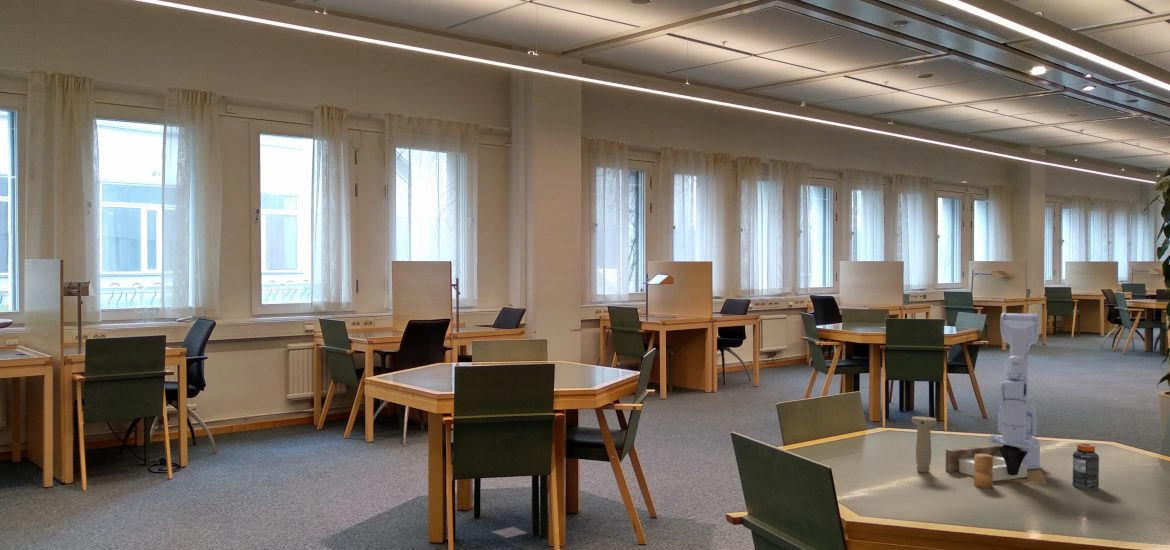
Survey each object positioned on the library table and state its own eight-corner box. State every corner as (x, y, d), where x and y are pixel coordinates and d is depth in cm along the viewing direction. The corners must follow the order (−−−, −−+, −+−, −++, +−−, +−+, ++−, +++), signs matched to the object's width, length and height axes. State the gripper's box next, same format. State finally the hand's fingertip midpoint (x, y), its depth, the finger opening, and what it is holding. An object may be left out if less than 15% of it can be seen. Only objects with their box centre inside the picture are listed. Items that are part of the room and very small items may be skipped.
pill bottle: (1095, 485, 226) (1096, 442, 226) (1101, 491, 221) (1102, 447, 221) (1070, 483, 228) (1071, 441, 228) (1074, 488, 223) (1075, 445, 222)
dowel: (983, 482, 228) (983, 453, 228) (996, 487, 224) (996, 456, 224) (970, 484, 227) (970, 454, 227) (983, 488, 223) (983, 458, 222)
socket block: (994, 467, 244) (995, 455, 244) (1026, 477, 234) (1027, 464, 234) (959, 471, 240) (959, 459, 240) (990, 481, 229) (990, 468, 229)
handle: (933, 475, 236) (934, 421, 236) (909, 471, 240) (910, 418, 239) (937, 471, 240) (937, 418, 240) (913, 468, 244) (913, 415, 243)
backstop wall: (997, 465, 247) (997, 444, 247) (1003, 466, 245) (1003, 445, 245) (945, 470, 241) (945, 449, 241) (950, 472, 239) (951, 451, 239)
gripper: (981, 420, 236) (980, 469, 236) (1024, 430, 222) (1023, 482, 222) (1000, 418, 238) (1000, 467, 238) (1045, 429, 224) (1044, 480, 225)
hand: (1012, 474), depth 231 cm, fingers closed
